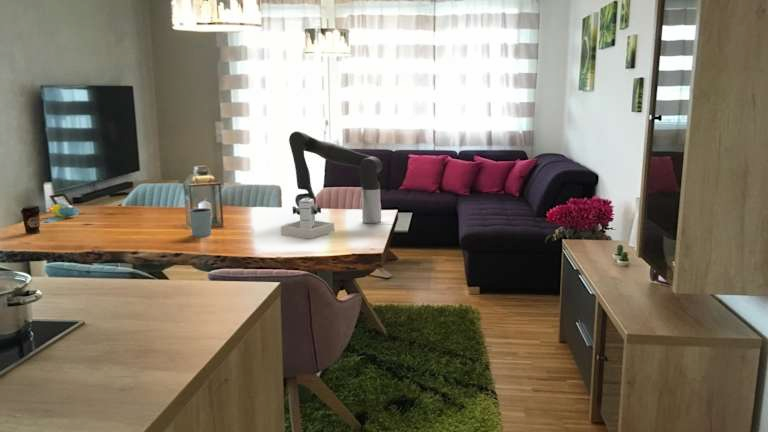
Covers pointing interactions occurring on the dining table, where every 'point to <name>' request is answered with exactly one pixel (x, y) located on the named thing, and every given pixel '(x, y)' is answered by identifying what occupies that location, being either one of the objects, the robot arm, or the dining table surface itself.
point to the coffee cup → (31, 219)
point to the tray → (295, 229)
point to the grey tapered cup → (200, 222)
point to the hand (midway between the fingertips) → (307, 212)
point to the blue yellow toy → (61, 212)
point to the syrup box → (307, 214)
